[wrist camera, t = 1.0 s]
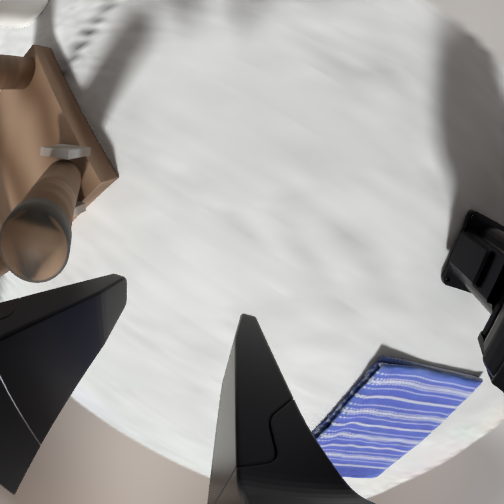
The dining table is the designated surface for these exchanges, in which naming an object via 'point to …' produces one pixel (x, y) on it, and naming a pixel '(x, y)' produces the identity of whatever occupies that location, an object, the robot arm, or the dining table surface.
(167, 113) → the dining table surface
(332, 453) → the dish towel
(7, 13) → the foam cup
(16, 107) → the stool
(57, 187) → the hinged leg
